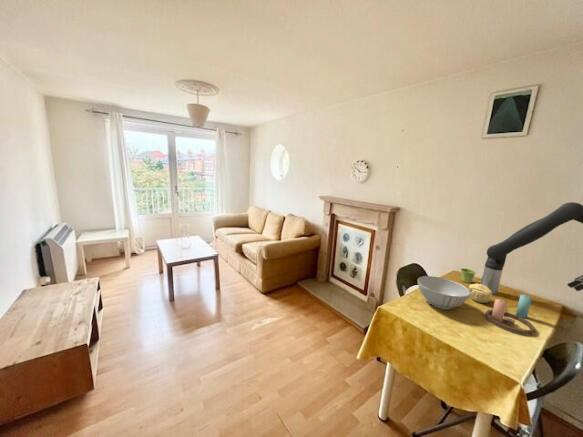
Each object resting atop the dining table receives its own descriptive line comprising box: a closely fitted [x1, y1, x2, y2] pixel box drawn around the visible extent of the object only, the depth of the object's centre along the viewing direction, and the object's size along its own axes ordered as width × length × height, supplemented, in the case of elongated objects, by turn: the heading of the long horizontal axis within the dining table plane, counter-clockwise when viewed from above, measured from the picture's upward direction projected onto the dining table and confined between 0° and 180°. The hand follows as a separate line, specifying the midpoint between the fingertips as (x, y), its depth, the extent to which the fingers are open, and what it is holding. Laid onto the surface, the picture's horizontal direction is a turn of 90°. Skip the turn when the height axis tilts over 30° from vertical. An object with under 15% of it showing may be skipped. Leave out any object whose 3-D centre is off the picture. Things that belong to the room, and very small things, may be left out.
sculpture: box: [468, 282, 493, 304], centre depth 148 cm, size 11×12×11 cm
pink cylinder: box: [490, 298, 508, 324], centre depth 125 cm, size 5×5×12 cm
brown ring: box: [484, 309, 536, 336], centre depth 125 cm, size 19×19×2 cm
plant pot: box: [460, 267, 477, 284], centre depth 176 cm, size 9×9×9 cm
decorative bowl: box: [417, 275, 471, 310], centre depth 141 cm, size 27×27×12 cm
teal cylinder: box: [515, 294, 533, 320], centre depth 132 cm, size 5×5×12 cm
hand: (572, 287), depth 125 cm, fingers open, 8 cm apart
